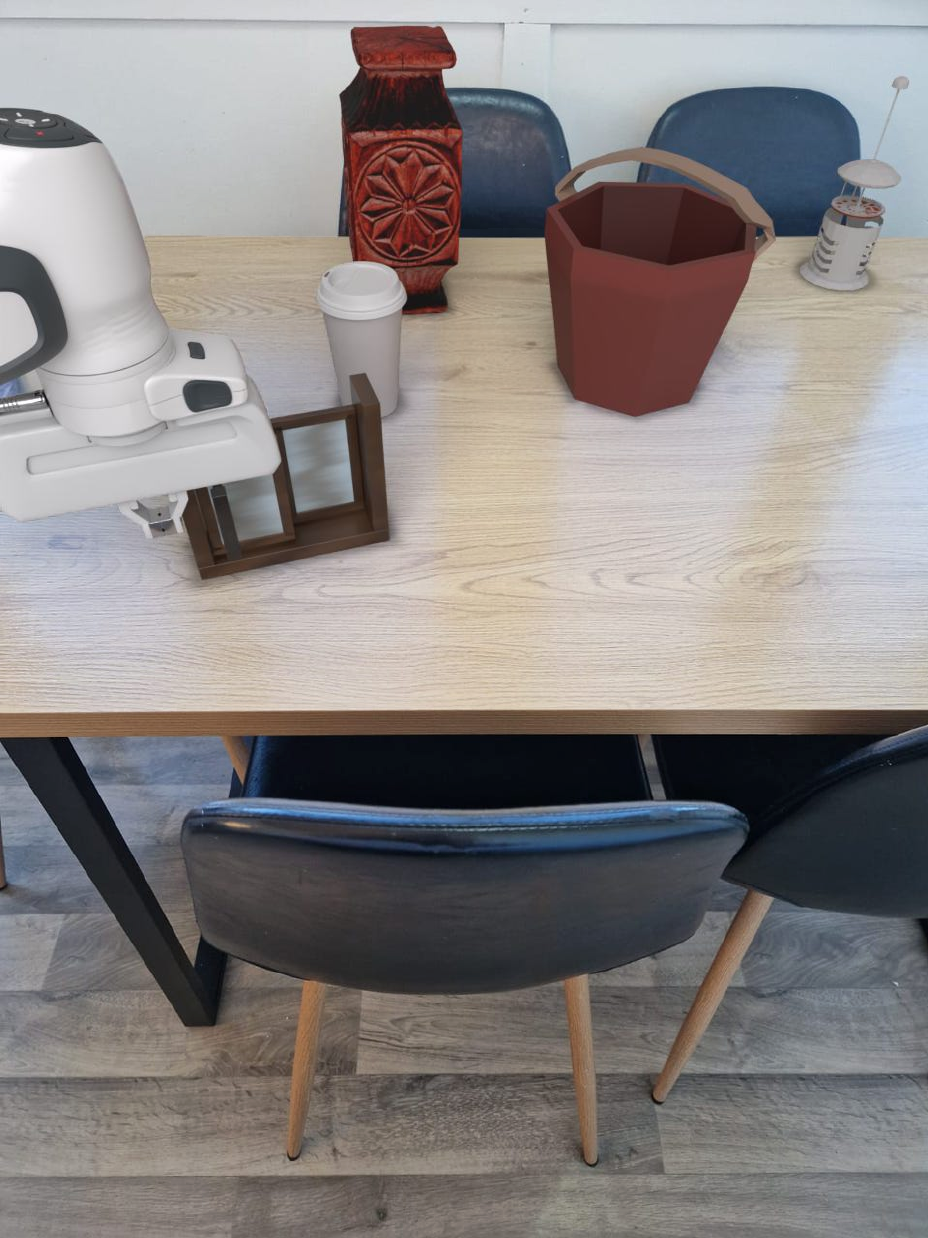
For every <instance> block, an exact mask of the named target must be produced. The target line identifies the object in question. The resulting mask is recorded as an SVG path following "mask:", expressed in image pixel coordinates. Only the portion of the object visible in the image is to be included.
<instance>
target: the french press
mask: <svg viewBox="0 0 928 1238" xmlns="http://www.w3.org/2000/svg"><path fill="white" fill-rule="evenodd" d="M909 85H910V80H909V78H908V77H907V76H904V75H901V76H897V77H896V78H894V79H893V81H892V84H891V87H892V88H893V89H896V92H895V96H894V99H893V101H892V104H891V107H890V110H889V113H888V116H887V119H886V121H885V124H884V127H883V130H882V133H881V135H880V139H879V142H878V144H877V147H876V150H875V153H874V156H873V158H866V159H865V158H864V159H863V158H862V159H856V160H851V161H848V162H846V163H844V164H843V165H841V166H839V167H838V169H837V174H838V176H839V177H840V178H841V179H842V180H843V181H844V183H843V187H842V189H841V192H840V194H839V196H836V197H834V198H832V200H830V207H829V208H828V209H827V210H826V211H825V212H824V215H823V217H822V223H820V227H819V231H818V233H817V236H816V239H815V243H814V246H813V249H812V252H811V255H810V258H809V260H808V261H806V262H804V263H803V264H802V265H801V266H800V267H799V274H800V276H802V278H803V279H804V280H806V281H808V282H809V283H811V284H812V285H815V286H817V287H821V288H823V289H827V290H835V291H856V290H859V289H864V288H865V286H867V285H868V284H869V283H870V277H869V275H868V273H867V272H866V270H867V267H868V265H869V263H870V262H869V261H870V259H871V257H872V254H873V252H874V248H875V246H876V243H877V242H878V238H879V236H880V233H881V231H882V229H883V226H884V225H883V224H884V220H885V219H884V218H883V217H882V216H883V214H885V213H886V206H884V205H883V203H881V202H879V201H877V200H876V199H873V198H869V197H867V196H863V195H864V193H865V189H872V190H882V189H883V190H885V189H886V190H887V189H890V188H891V189H892V188H895V187H896V186H897V185H899V184H900V183H901V182H902V176H901V175H900V174H899V173H898V172H897V170H896V169H895V168H894V167H893V166H892V165H890V164H888V163H886V162H883V161H881V160H879V159H877V156H878V153H879V150H880V147H881V144H882V142H883V138H884V136H885V134H886V133H885V132H886V130H887V127H888V125H889V121H890V119H891V116H892V114H893V110H894V107H895V104H896V102H897V99H898V96H899V93H900V91H901V90H908V87H909ZM847 183H848V184H849V185H852V186H853V187H854V189H853V192H852V194H844V191H845V188H846V186H847ZM858 187H859V188H862V191H861V193H860V196H859V195H857V194H856V192H857V189H858ZM843 194H844V195H843ZM844 216H846V220H845V221H846V222H845V223H846V224H845V225H843V224H842V221H843V219H844ZM871 222H872V223H876V224H878V226H871V225H866V223H871ZM822 229H823V232H822ZM835 242H838V243H837V245H835ZM868 244H870V245H871V247H870V246H869V245H868ZM832 251H833V252H834V254H832ZM866 254H868V255H866Z"/></svg>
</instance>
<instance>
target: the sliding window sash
mask: <svg viewBox="0 0 928 1238" xmlns="http://www.w3.org/2000/svg"><path fill="white" fill-rule="evenodd" d="M275 437H276V440H277V444H278V448H279V443H278V438H277V435H276V434H275ZM279 451H280V449H279ZM280 456H281V454H280ZM195 490H196V494H197V497H198V501H199V504H200V508H201V511H202V515H203V518H204V522H205V525H206V529H207V532H208V536H209V539H210V543H211V547H212V550H213V554H214V556H215V555H220V554H225V553H227V556H228V560H234V559H239V558H242V553H241V550H244V549H249V548H254V547H259V546H263V545H268V544H273V543H278V542H283V541H288V540H292V539H296V537H295V532H294V526H293V521H292V515H291V510H290V504H289V499H288V493H287V487H286V482H285V476H284V471H283V465H282V460H281V463H280V465H279V466H278V468H277V470H276V471H275V472H274V473H273V474H270V475H265V476H260V477H255V478H249V479H244V480H239V481H234V482H229V483H223V484H218V485H213V486H208V487H203V488H197V489H195Z"/></svg>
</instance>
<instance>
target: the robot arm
mask: <svg viewBox="0 0 928 1238" xmlns="http://www.w3.org/2000/svg"><path fill="white" fill-rule="evenodd" d="M151 266H152V265H151V261H150V256H149V254H148V249H147V247H146V243H145V240H144V237H143V233H142V230H141V227H140V223H139V221H138V218H137V214H136V211H135V208H134V205H133V202H132V200H131V197H130V193H129V192H128V189H127V186H126V184H125V181H124V179H123V176H122V174H121V172H120V169H119V167H118V164H117V163H116V161H115V159H114V157H113V155H112V154H111V152H110V151H109V148H108V147H107V145H105V144H104V142H103V141H102V140H101V139H100V138H98V137H97V136H96V135H95V134H93V132H92V131H90V130H88V129H87V128H86V127H84V126H82V125H81V124H79V123H78V122H76V121H74V120H71V119H70V118H68V117H65V116H63V115H61V114H56V113H51V112H45V111H43V110H39V109H32V108H24V107H23V108H22V107H21V108H20V107H0V387H2V386H4V385H5V384H8V383H9V382H11V381H14V380H16V379H19V378H21V377H22V376H25V375H26V374H28V373H31V372H33V371H34V370H35V373H36V376H37V378H38V380H39V382H40V385H41V387H42V389H37V390H32V391H26V392H19V393H16V394H13V395H12V394H11V395H9V396H4V397H0V510H1V512H2V513H3V514H4V515H5V516H7V517H9V518H11V519H13V520H14V521H17V522H19V523H26V522H32V521H36V520H42V519H46V518H52V517H57V516H63V515H67V514H73V513H77V512H82V511H88V510H93V509H98V508H103V507H108V506H109V507H110V506H114V505H117V507H118V509H119V511H120V513H121V514H122V515H124V516H125V517H127V518H128V519H130V520H131V521H133V522H134V523H135V524H137V525H139V526H141V528H142V530H143V533H144V535H145V538H146V540H153V539H158V538H163V537H166V536H171V535H177V534H183V533H184V532H185V528H184V521H183V517H182V513H183V511H184V509H185V506H186V504H187V502H188V494H187V490H192V489H197V488H203V487H208V486H213V485H218V484H223V483H229V482H234V481H239V480H244V479H249V478H255V477H260V476H265V475H270V474H273V473H274V472H275V471H276V470H277V468H278V466H279V465H280V463H281V456H280V451H279V448H278V444H277V440H276V437H275V434H274V430H273V427H272V424H271V421H270V415H269V413H268V410H267V407H266V404H265V402H264V399H263V397H262V395H261V392H260V390H259V388H258V386H257V384H256V383H255V381H254V379H252V378H251V376H249V374H247V370H246V367H245V363H244V359H243V357H242V355H241V353H240V350H239V349H238V347H237V345H236V343H235V341H234V340H233V338H231V337H230V336H228V335H224V334H219V333H211V332H204V331H198V330H197V331H196V330H189V329H185V328H184V329H182V328H176V327H171V326H168V323H167V321H166V319H165V316H164V315H163V313H162V311H161V310H160V309H159V307H158V305H157V303H156V301H155V298H154V296H153V291H152V267H151ZM166 495H167V497H168V501H169V503H168V505H164V506H160V507H154V508H148V507H146V506H145V505H144V504H143V503H141V502H140V500H145V499H150V498H156V497H160V496H166Z"/></svg>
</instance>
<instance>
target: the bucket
mask: <svg viewBox="0 0 928 1238" xmlns="http://www.w3.org/2000/svg"><path fill="white" fill-rule="evenodd" d="M630 161H633V162H638V163H643V164H650V165H654V166H657V167H661V168H664V169H668V170H671V171H673V172H676V173H678V174H680V175H682V176H684V177H685V178H688V179H690V180H692V181H694V182H696V183H697V184H698V185H700V186H702V187H704V188H706V189H708V190H709V191H711V192H712V193H714V194H712V193H710V192H708V191H705V190H703V189H700V188H698V187H696V186H693V185H691V184H689V183H677V182H672V183H671V182H639V181H638V182H635V181H633V182H632V181H631V182H629V181H597V182H595V183H593V184H591V185H589V186H587V187H585V188H583V189H582V190H580V191H577V190H576V188H575V187H574V186H573V185H574V184H575V183H576V182H577V181H578V180H579V178H581V177H582V176H583V175H584V174H585V173H586V172H587V171H590V170H593V169H595V168H598V167H602V166H606V165H611V164H617V163H624V162H630ZM715 194H716V195H715ZM717 195H718V196H717ZM554 196H555V197H556V199H557V200H558V202H556V203H554V204H553V205H551V206H548V207H547V208H546V213H545V214H546V215H545V225H544V243H545V254H546V264H547V265H546V266H547V274H548V275H547V276H548V285H549V293H550V304H551V313H552V314H551V315H552V322H553V333H554V342H555V343H554V344H555V353H556V361H557V364H556V365H557V368H558V369H559V371H560V373H561V375H562V377H563V379H564V381H565V383H566V385H567V387H568V389H569V391H570V392H571V394H572V396H573V398H574V400H575V401H578V402H582V403H586V404H588V405H589V404H590V405H593V406H596V407H600V408H603V409H606V410H611V411H614V412H617V413H621V414H624V415H628V416H631V417H635V418H637V417H640V416H643V415H648V414H651V413H654V412H658V411H659V412H660V411H662V410H665V409H670V408H672V407H673V408H674V407H677V406H681V405H684V404H688V403H690V401H691V399H692V398H693V395H694V394H695V391H696V389H697V387H698V385H699V383H700V381H701V379H702V377H703V375H704V373H705V371H706V369H707V367H708V365H709V362H710V360H711V358H712V356H713V354H714V353H715V350H716V348H717V346H718V344H719V342H720V340H721V337H722V336H723V333H724V332H725V330H726V327H727V325H728V324H729V321H730V319H731V317H732V315H733V313H734V311H735V309H736V307H737V304H738V303H739V300H740V299H741V297H742V294H743V292H744V290H745V288H746V286H747V284H748V281H749V278H750V275H751V271H752V268H753V263H754V261H756V260H757V259H758V258H759V257H760V256H762V254H763V253H764V252H766V251H767V250H768V249H769V248H770V247H771V246H772V245H773V244H774V243H775V242H777V237H776V233H775V227H774V221H773V219H772V218H771V217H770V216H769V214H768V213H767V211H766V210H765V209H763V207H762V206H761V205H760V204H759V203H758V202H757V201H756V200H755V198H754V196H753V195H752V193H751V192H750V190H749V189H748V188H747V187H746V186H744V185H742V184H741V183H738V182H736V181H734V180H733V179H731V178H729V177H727V176H726V175H723V174H721V173H720V172H718V171H716V170H714V169H712V168H711V167H708V166H706V165H704V164H703V163H700V162H698V161H696V160H694V159H691V158H689V157H686V156H684V155H683V156H682V155H679V154H676V153H673V152H670V151H666V150H663V149H658V148H652V147H646V146H640V147H639V146H638V147H634V148H626V149H622V150H617V151H613V152H609V153H605V154H603V155H601V156H598V157H595V158H591V159H588V160H586V161H584V162H582V163H580V164H578V165H576V166H574V167H573V168H572V169H571V170H570V171H569V172H568V173H567V174H565V176H563V178H562V179H561V180H559V182H558V183H557V184H556V185H555V186H554ZM757 228H758V229H761V230H763V233H762V234H761V235H759V236H758V237H757Z"/></svg>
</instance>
